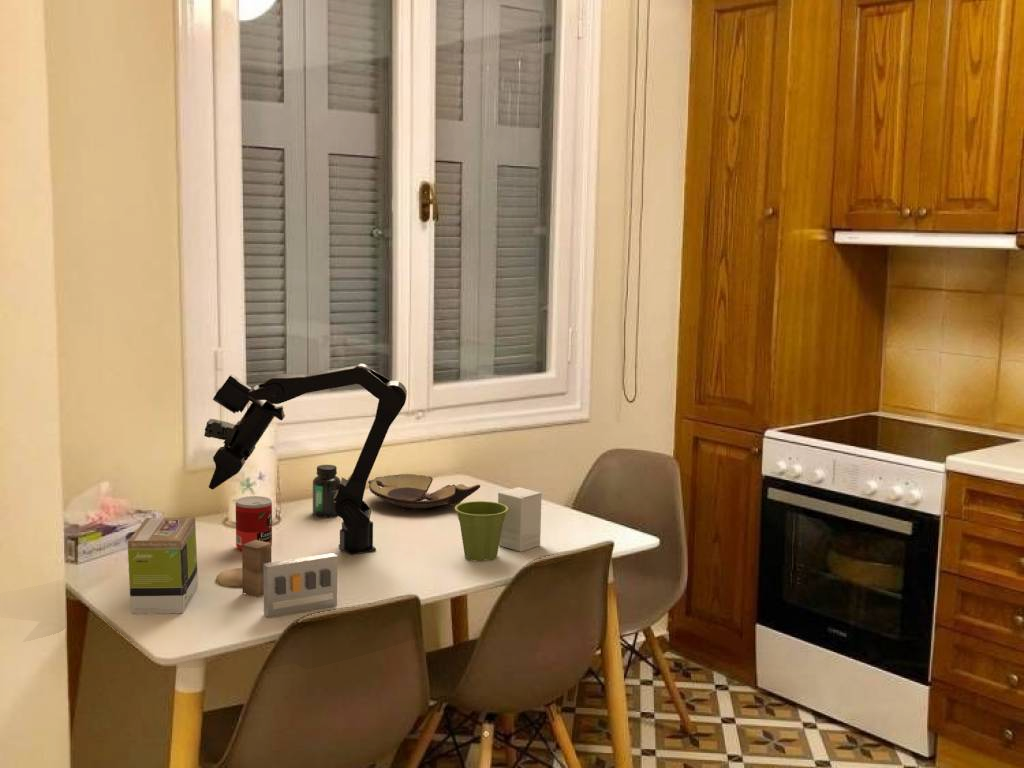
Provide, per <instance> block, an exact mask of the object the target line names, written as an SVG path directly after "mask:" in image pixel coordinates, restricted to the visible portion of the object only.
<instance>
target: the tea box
mask: <svg viewBox="0 0 1024 768" xmlns="http://www.w3.org/2000/svg"><path fill="white" fill-rule="evenodd" d="M196 527H197V526H196V517H195V516H194V517H193V516H192V517H145V519H144V520H143V522H141V524H140V525H139V526H138V528H137V529H136V530H135V531H134V533H133V534H132V535H131V536H130V538H129V539H128V540H127V559H128V560H127V561H128V579H129V580H128V582H129V583H128V584H129V601H130V602H129V604H130V605H129V606H130V613H131V614H132V615H138V614H137V613H142V614H141V615H148V613H177V614H184V612H185V610H186V608H187V606H188V604H189V602H190V601H191V600H192V597H193V595H194V594H195V592H196V590H197V588H198V587H199V575H198V574H199V573H198V555H197V553H198V552H197V536H196V535H197V534H196V533H197V530H196V529H197V528H196ZM135 613H136V614H135Z"/></svg>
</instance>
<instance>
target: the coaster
mask: <svg viewBox="0 0 1024 768" xmlns="http://www.w3.org/2000/svg"><path fill="white" fill-rule="evenodd" d="M216 582H217V583H218V584H219V583H220V585H221V584H223V585H222V586H224V585H227V586H226V587H229V586H236V587H235V588H242V567H237V568H231V569H227V570H224V571H221V572H220V573H218V574H217V575H216Z"/></svg>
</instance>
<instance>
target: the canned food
mask: <svg viewBox="0 0 1024 768" xmlns="http://www.w3.org/2000/svg"><path fill="white" fill-rule="evenodd" d="M254 540H259V541H264V542H268V543H271V547H273V501H272V499H271V498H269V497H265V496H261V495H258V496H257V495H250V496H249V495H248V496H243V497H240V498H237V499H236V500H235V545H236V548H237V549H236V550H238V551H239V552H241V553H242V545H243V544H246V543H249V542H251V541H254Z"/></svg>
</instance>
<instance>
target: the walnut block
mask: <svg viewBox="0 0 1024 768" xmlns="http://www.w3.org/2000/svg"><path fill="white" fill-rule="evenodd" d="M241 560H242V561H241V568H242V587H241V589H242V594H243V593H246V594H249V595H248V596H250V595H253V596H252V597H254V596H257V597H256V598H260V597H262V596H261V595H263V596H264V564H265V563H272V546H271V543H268V542H264V541H259V540H254V541H251V542H249V543H246V544H243V545H242V552H241ZM246 594H245V595H246ZM259 596H260V597H259Z"/></svg>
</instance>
